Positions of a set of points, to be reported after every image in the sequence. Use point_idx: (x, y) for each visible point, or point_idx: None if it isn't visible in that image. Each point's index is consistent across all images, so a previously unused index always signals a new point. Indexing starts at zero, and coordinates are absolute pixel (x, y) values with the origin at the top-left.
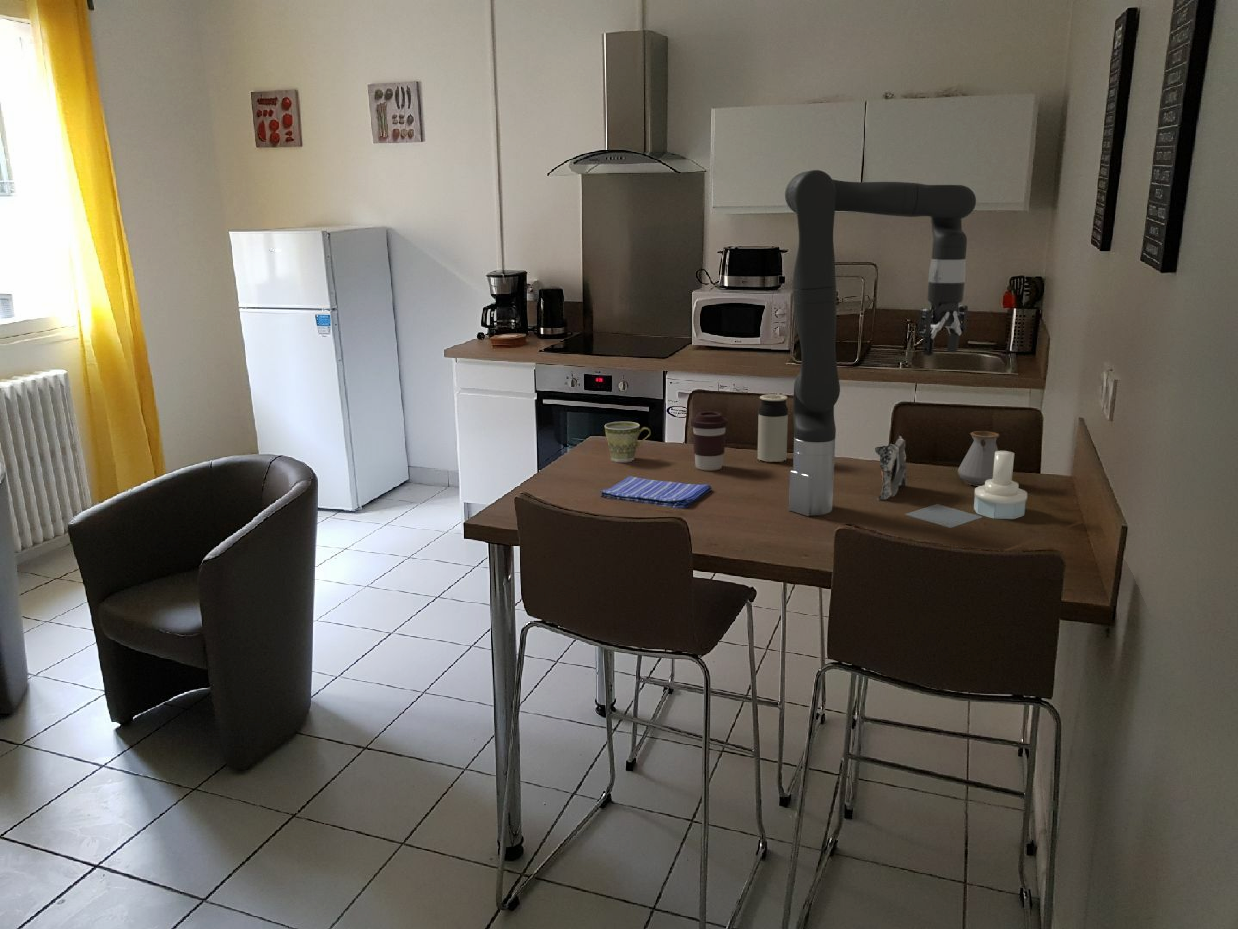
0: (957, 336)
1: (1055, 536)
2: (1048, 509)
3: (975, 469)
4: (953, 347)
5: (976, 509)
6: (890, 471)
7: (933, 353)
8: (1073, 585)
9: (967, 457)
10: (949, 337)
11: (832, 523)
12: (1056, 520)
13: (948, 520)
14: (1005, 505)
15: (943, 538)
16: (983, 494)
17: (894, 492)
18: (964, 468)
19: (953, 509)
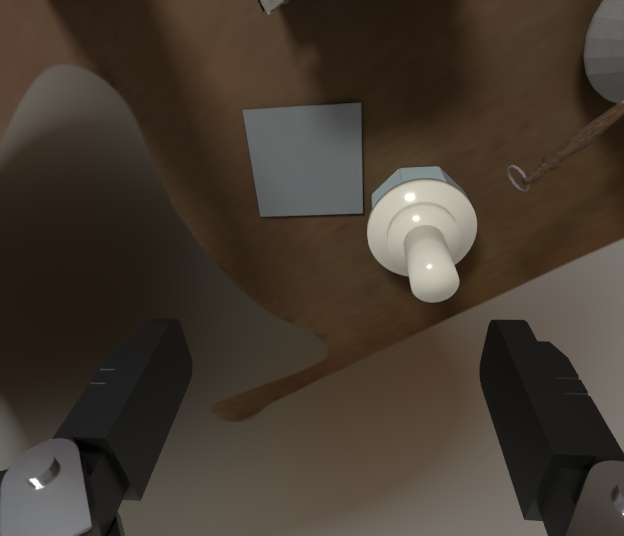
0: (533, 518)
1: (375, 319)
2: (513, 248)
3: (605, 55)
4: (494, 392)
5: (380, 190)
6: (266, 12)
7: (188, 384)
8: (236, 395)
9: None
10: (537, 441)
11: (70, 50)
12: None
13: (289, 189)
14: None
15: (217, 234)
16: (372, 224)
17: None
18: (614, 11)
19: (356, 151)
